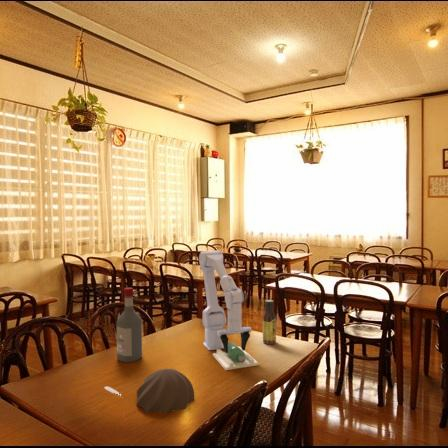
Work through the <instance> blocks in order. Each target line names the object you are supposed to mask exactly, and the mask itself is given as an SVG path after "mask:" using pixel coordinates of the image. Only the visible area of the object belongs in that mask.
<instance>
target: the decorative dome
mask: <svg viewBox="0 0 448 448" xmlns="http://www.w3.org/2000/svg"><path fill="white" fill-rule="evenodd" d="M136 397H137V402H136V405H137V406H136V405H135V406H136V407H139V406H140V408H142V409H145V410H144V411H145V412H146V413H159V412H161V413H160V414H163V413H167V414H169V413H172V412H174V411H182V409H183V410H185V409H186V408H187V406H188V405H189V404H191V403H192V402H194V401H195V390H194V387H193V384H192V382H191V381H190V379H189V378H188V377H187V376H186V375H185V374H184V373H182V372H180V371H178V370H176V369H175V368H163V369H157V370H156V371H155V372H153V373H151V374H149V375H148V376H146V377H145V379H144V380H143V383H142V384H141V385H140V386H139V387H138V389H137V390H136ZM173 410H174V411H173ZM171 411H172V412H171Z"/></svg>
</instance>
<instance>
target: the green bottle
mask: <svg viewBox="0 0 448 448" xmlns="http://www.w3.org/2000/svg"><path fill="white" fill-rule="evenodd" d="M239 347H240V346H239ZM239 347H238V345H236V343H235V342H233V341H232V342H228V355H229V356H230V357H231V358H232V359H233V360H234V361H235V362H238V363H239V362H241V363H243V362H245V353H244V352H243V351H242V350H241V349H240V348H239Z"/></svg>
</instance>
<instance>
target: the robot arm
mask: <svg viewBox="0 0 448 448" xmlns="http://www.w3.org/2000/svg"><path fill="white" fill-rule="evenodd" d="M198 263H199V267H200V270H201V271H202V273H203V274H202V275H203V280H204V281H203V282H204V289H205V295H206V298H205V299H206V305H207V307H206V308H205V309H204V310H203V311H202V319H201V321H202V325H203V327H204V328H205V329H204V342H202V344H203V345H204V347H205V348H206V349H207V350H208V351H213V350H217V349H221V350H222V349H223V350H224V351H223V352H225V353H228V343H229V338H228V336H229V335H238V334H239V335H240V341H241V343H240V344H241V346H240V347H241V348H242V350H243V351H246V346H247V343H248V340H249V338H250V337H251V334H252V327H251V326H242V304H243V303H244V302H245V301H244V300H245V295H244V292H243V290H242V289H240V288H239V287H237V285H236V282H235V281H234V278H233V277H232V276H231V275H228V273H227V270H226V267H225V264H224V253H223V252H222V250H220V249H218V250H208V251H207V250H205V251H204V250H201V252H200V253H199V255H198ZM215 272H216V274H217V275H218V277H219V279H220V280H219V285H220V286H221V288H222V291H223V292H224V301H225V305H226V306H225V307H226V309H227V317H226V314H225V311H224V310H225V309H224V308H223V307H222V306H220V305H219V299H218V291H217V286H216V284H217V283H216V280H215V279H216V278H215ZM226 323H227V328H224V327H225V325H226Z"/></svg>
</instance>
